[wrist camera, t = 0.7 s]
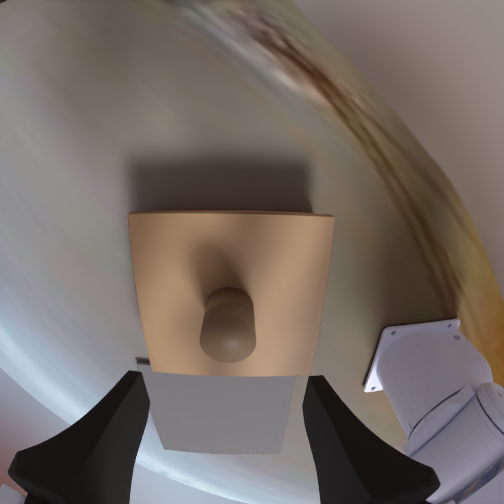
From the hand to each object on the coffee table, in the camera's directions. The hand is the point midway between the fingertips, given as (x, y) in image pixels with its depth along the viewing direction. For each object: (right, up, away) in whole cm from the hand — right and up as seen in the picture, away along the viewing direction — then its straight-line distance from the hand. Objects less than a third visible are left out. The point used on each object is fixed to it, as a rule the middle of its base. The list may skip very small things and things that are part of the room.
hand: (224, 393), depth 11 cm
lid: (0, +3, +7) cm, 8 cm away
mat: (-2, -11, +15) cm, 19 cm away
